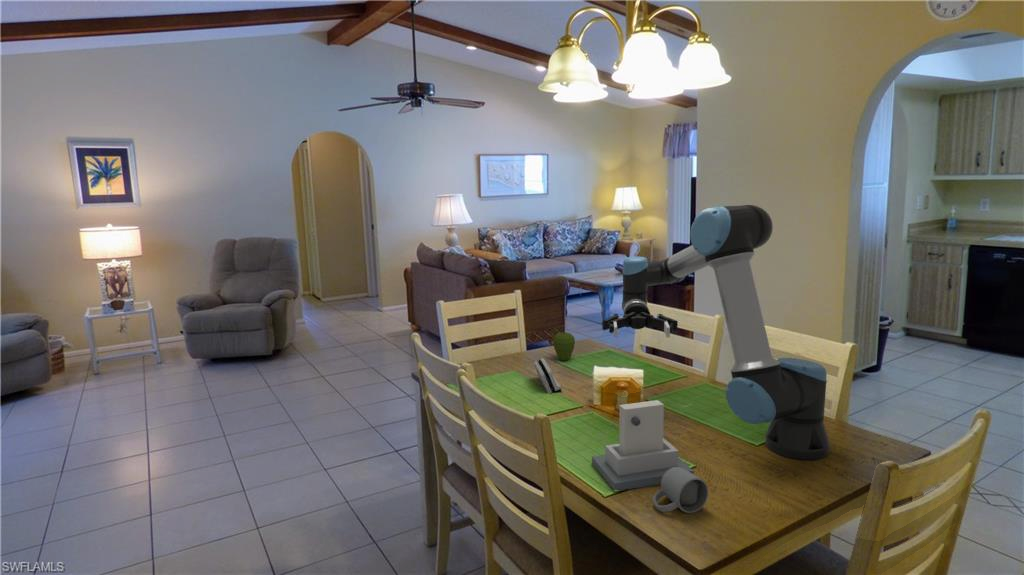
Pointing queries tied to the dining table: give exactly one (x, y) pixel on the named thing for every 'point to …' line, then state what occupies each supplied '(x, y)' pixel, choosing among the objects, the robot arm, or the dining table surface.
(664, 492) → the ceramic mug
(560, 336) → the green vase
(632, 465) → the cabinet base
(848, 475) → the dining table surface
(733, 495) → the dining table surface
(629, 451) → the cabinet door
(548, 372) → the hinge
